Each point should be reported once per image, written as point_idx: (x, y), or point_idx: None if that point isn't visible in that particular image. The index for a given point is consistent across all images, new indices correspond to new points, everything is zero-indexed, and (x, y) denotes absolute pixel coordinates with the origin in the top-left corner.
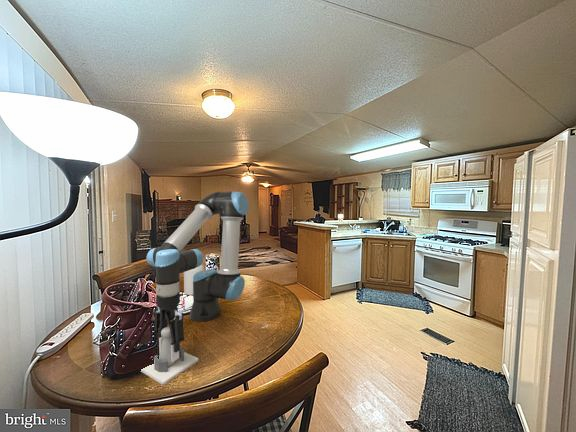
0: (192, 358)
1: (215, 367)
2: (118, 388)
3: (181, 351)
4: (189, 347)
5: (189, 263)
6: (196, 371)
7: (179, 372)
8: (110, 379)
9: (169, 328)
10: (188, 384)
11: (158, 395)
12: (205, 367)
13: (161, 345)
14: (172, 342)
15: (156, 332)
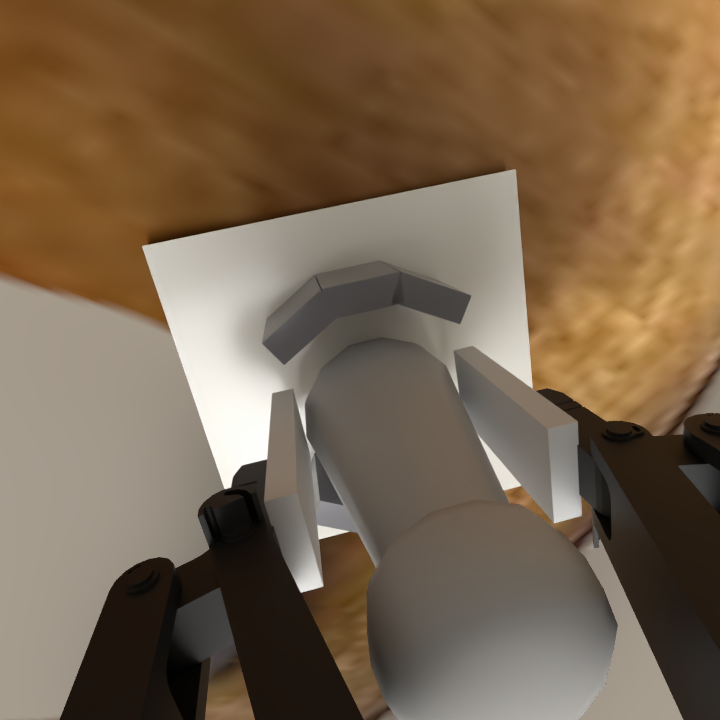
0: (470, 211)
1: (695, 119)
2: (349, 647)
3: (451, 315)
4: (230, 113)
5: None
6: (603, 258)
7: (526, 362)
8: (222, 673)
9: (556, 671)
10: (658, 359)
11: (584, 510)
12: (626, 180)
13: (314, 507)
14: (593, 522)
15: (205, 669)
